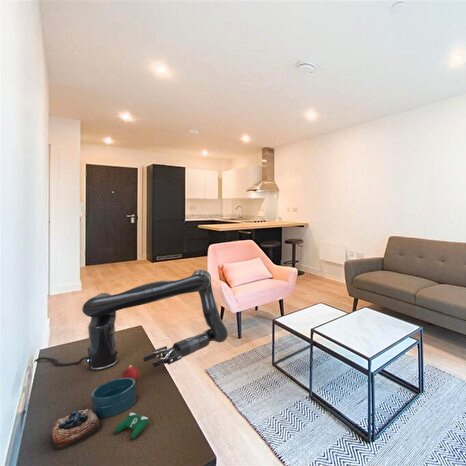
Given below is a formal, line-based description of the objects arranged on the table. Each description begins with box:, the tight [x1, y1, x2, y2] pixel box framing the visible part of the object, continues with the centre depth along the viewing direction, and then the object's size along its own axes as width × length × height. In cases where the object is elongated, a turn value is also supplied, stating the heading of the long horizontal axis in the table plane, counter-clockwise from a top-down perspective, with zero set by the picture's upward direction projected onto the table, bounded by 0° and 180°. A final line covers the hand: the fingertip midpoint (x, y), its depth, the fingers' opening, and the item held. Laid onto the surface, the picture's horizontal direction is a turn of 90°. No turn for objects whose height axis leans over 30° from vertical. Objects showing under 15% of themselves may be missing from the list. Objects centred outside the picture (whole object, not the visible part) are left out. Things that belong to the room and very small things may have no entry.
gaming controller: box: [114, 412, 149, 440], centre depth 95 cm, size 9×4×6 cm
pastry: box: [51, 408, 100, 450], centre depth 93 cm, size 11×12×6 cm
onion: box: [121, 364, 140, 382], centre depth 119 cm, size 6×6×8 cm
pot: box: [91, 377, 137, 419], centre depth 106 cm, size 12×12×7 cm
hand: (148, 362), depth 125 cm, fingers open, 8 cm apart
